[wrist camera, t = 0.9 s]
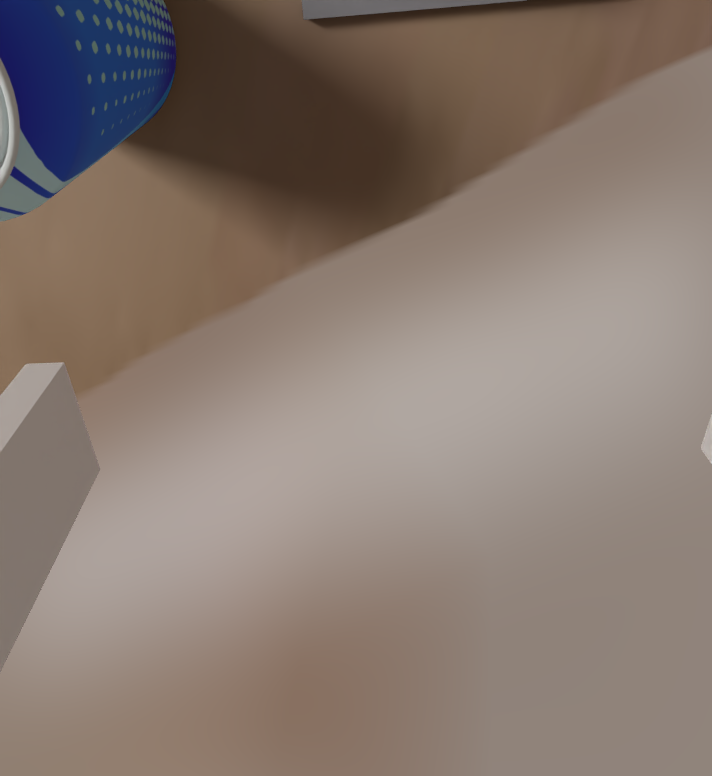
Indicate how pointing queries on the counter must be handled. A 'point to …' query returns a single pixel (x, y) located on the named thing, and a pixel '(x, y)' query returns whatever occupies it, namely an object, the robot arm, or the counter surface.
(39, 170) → the beer can
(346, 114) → the counter surface
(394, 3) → the panel
